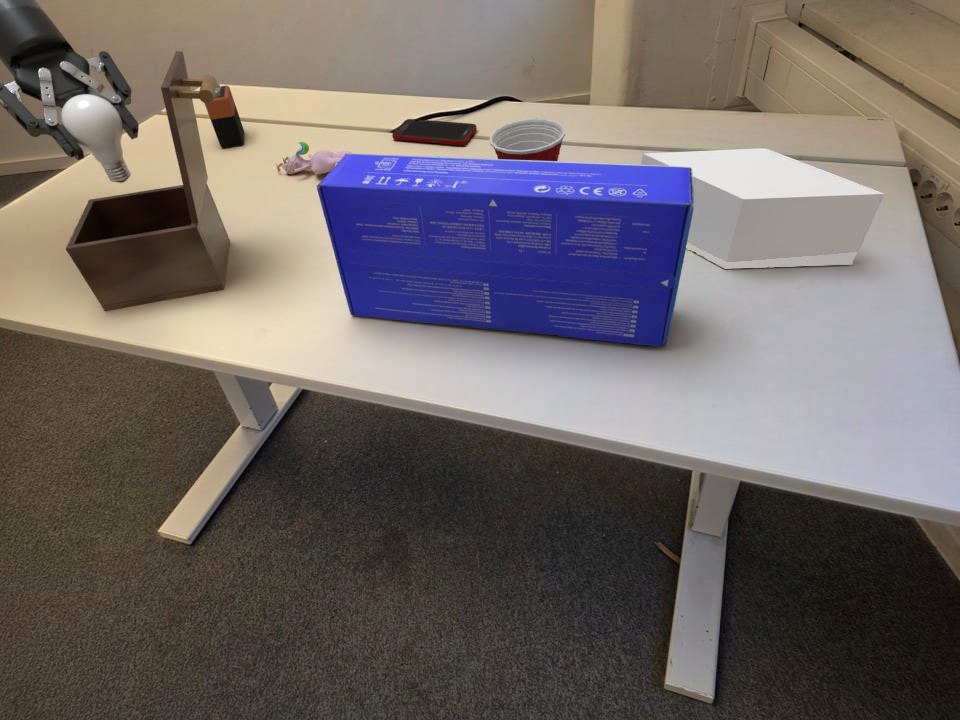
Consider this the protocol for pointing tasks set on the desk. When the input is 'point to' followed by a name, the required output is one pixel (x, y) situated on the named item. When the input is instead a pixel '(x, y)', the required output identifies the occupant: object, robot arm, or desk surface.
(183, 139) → the chest lid
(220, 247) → the chest
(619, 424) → the desk surface
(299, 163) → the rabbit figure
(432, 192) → the blue cardboard box
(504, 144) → the plastic cup
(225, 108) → the battery
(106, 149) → the lightbulb
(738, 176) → the white box
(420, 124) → the cell phone
